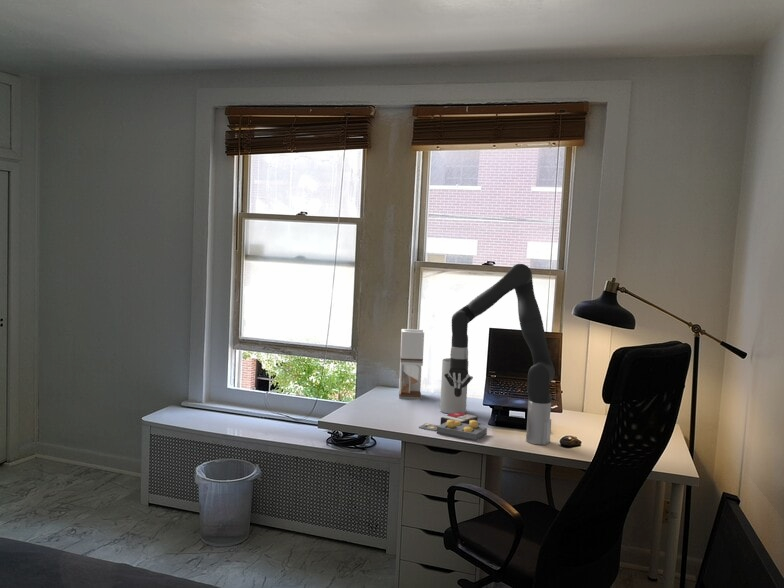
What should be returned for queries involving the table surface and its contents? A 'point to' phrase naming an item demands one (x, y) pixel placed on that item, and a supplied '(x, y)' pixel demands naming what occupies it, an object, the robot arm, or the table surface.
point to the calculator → (459, 418)
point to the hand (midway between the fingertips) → (457, 396)
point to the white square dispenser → (411, 363)
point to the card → (429, 427)
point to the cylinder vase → (451, 393)
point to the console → (462, 432)
